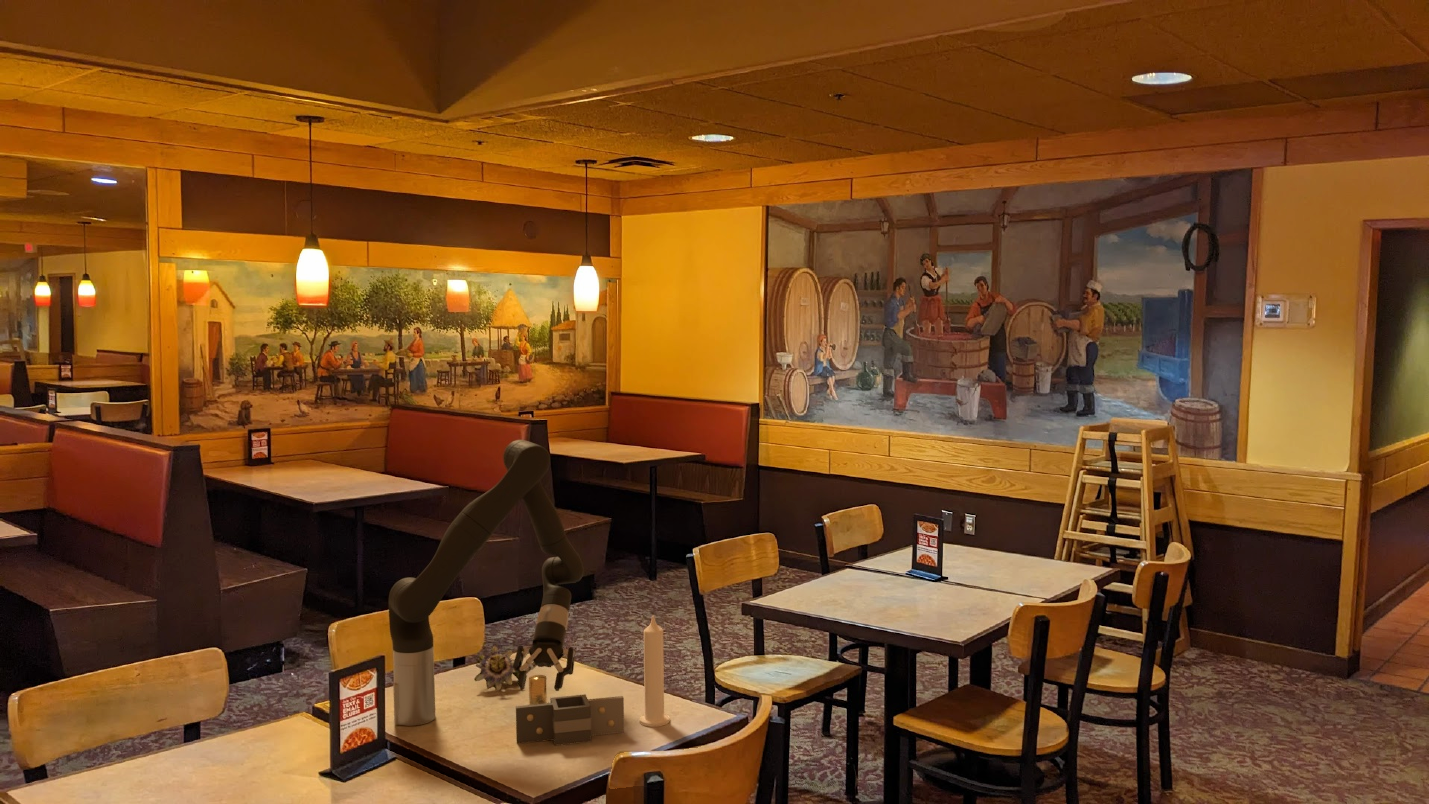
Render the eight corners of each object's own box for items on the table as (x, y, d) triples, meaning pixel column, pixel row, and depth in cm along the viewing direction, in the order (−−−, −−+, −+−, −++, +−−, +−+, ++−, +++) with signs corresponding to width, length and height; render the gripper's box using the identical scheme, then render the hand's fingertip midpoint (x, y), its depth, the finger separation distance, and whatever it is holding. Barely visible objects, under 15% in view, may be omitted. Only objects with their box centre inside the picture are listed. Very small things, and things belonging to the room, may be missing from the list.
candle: (675, 718, 251) (673, 613, 249) (660, 728, 244) (659, 621, 242) (648, 714, 254) (647, 610, 252) (633, 724, 247) (632, 618, 245)
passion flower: (498, 711, 272) (473, 680, 266) (487, 690, 281) (462, 660, 276) (534, 682, 274) (510, 651, 269) (522, 663, 284) (498, 632, 278)
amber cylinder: (530, 723, 248) (529, 681, 248) (529, 717, 252) (528, 675, 252) (547, 721, 250) (547, 679, 249) (546, 715, 253) (545, 674, 253)
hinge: (518, 749, 233) (517, 713, 232) (515, 735, 241) (514, 701, 240) (626, 737, 239) (626, 702, 239) (620, 724, 247) (620, 691, 246)
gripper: (519, 619, 260) (505, 680, 249) (576, 620, 258) (565, 682, 248) (526, 634, 266) (513, 695, 255) (582, 635, 264) (571, 697, 253)
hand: (539, 688), depth 251 cm, fingers open, 8 cm apart
